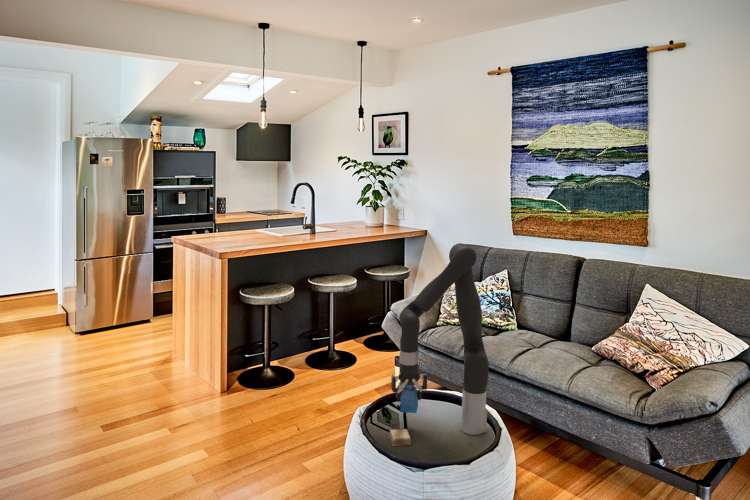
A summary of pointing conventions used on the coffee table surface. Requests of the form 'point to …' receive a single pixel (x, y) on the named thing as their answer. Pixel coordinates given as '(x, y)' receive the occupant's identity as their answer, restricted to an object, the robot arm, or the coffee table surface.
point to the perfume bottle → (409, 399)
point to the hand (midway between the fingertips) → (409, 400)
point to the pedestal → (400, 437)
